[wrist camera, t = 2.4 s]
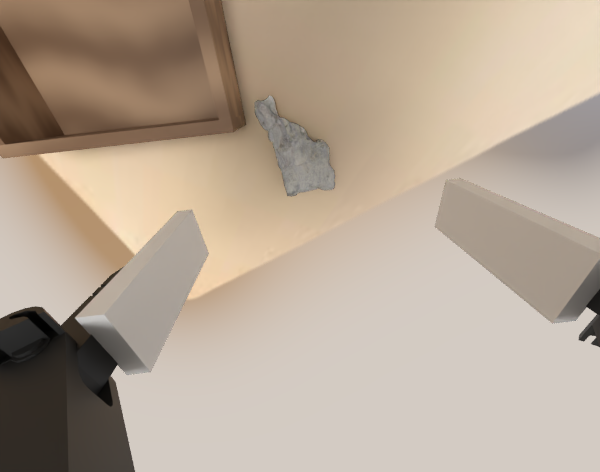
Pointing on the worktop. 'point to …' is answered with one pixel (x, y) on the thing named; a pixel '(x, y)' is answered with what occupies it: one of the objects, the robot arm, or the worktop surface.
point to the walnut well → (113, 73)
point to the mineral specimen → (296, 152)
